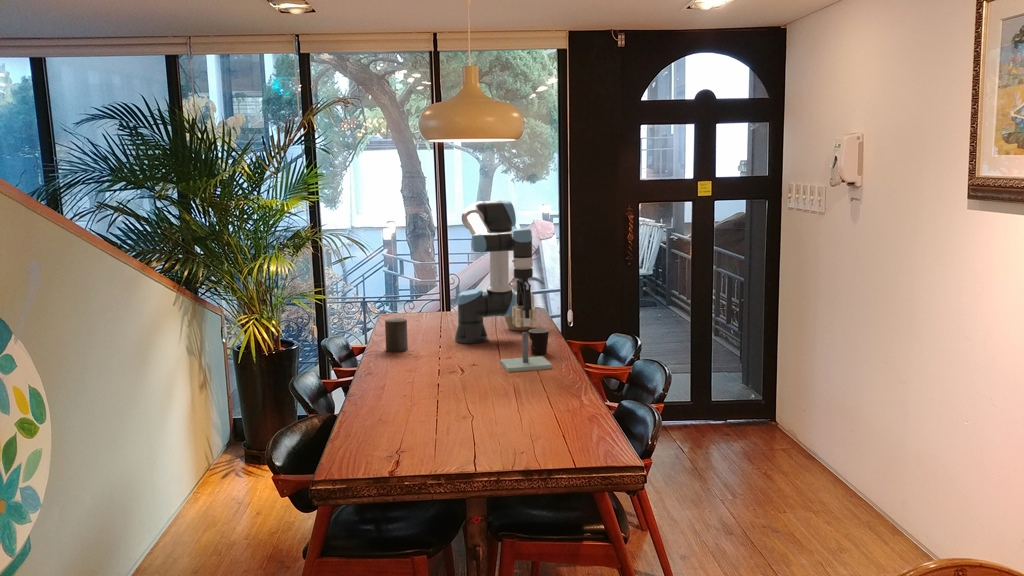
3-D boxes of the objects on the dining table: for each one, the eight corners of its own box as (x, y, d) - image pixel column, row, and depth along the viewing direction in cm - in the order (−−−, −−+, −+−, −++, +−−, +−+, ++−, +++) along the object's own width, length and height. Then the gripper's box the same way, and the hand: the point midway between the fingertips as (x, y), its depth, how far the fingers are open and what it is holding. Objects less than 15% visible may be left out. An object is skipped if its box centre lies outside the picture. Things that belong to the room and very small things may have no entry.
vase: (515, 324, 408) (514, 279, 405) (541, 327, 399) (540, 281, 395) (496, 329, 396) (495, 284, 392) (522, 333, 386) (521, 286, 383)
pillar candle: (393, 353, 352) (392, 319, 350) (381, 349, 359) (380, 316, 357) (412, 349, 358) (411, 316, 356) (400, 346, 366) (399, 314, 363)
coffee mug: (547, 356, 340) (547, 333, 338) (527, 355, 342) (526, 332, 340) (551, 349, 351) (551, 327, 350) (532, 349, 353) (531, 327, 351)
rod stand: (500, 362, 331) (499, 330, 329) (542, 359, 334) (541, 327, 332) (507, 371, 316) (507, 338, 314) (552, 368, 320) (551, 335, 318)
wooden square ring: (512, 323, 326) (512, 306, 325) (531, 322, 327) (531, 305, 326) (517, 327, 318) (516, 309, 317) (536, 325, 320) (536, 308, 319)
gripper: (508, 265, 328) (509, 319, 332) (519, 271, 308) (521, 329, 312) (526, 264, 330) (527, 318, 333) (538, 270, 310) (539, 328, 313)
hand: (524, 324), depth 323 cm, fingers closed on wooden square ring, 8 cm apart
